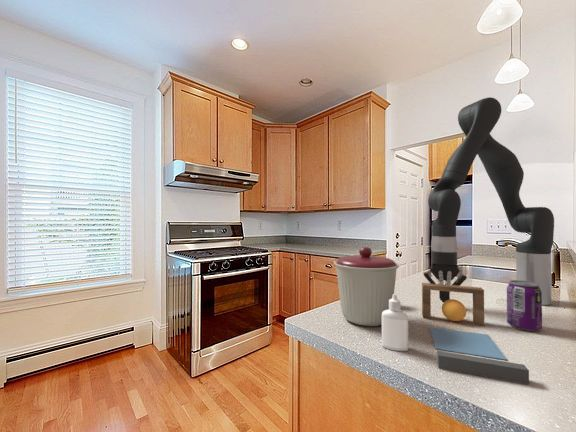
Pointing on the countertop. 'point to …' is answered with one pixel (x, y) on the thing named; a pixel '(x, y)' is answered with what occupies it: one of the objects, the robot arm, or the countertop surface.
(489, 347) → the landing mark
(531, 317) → the beverage can
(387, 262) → the canister
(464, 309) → the ball
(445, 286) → the bridge
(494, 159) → the robot arm
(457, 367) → the stopper wall
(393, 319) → the eye dropper bottle
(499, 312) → the countertop surface
